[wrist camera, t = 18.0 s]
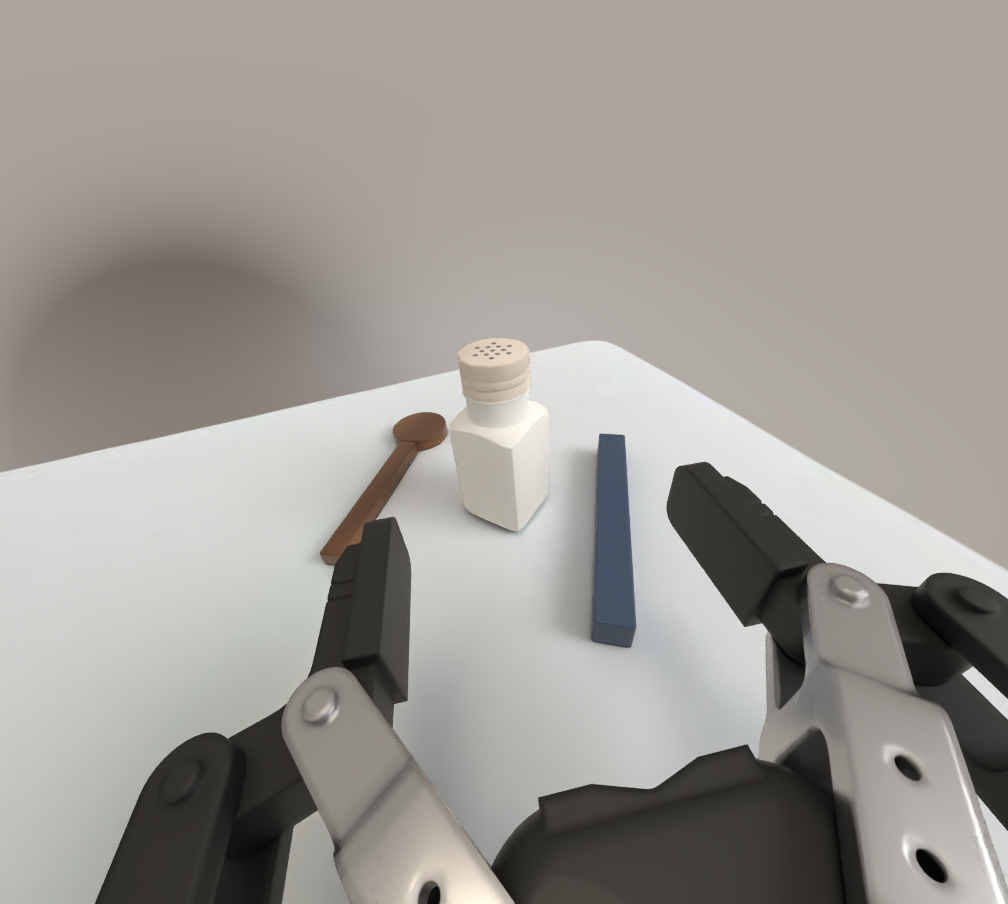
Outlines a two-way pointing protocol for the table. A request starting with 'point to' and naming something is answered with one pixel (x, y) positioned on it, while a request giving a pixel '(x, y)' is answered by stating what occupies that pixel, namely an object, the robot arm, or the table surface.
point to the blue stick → (612, 548)
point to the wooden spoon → (386, 478)
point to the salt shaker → (500, 435)
